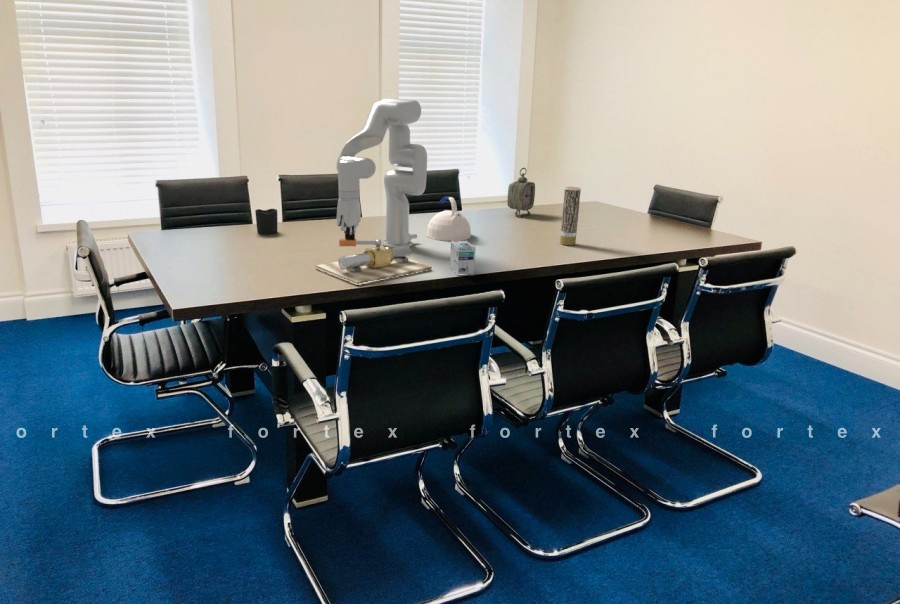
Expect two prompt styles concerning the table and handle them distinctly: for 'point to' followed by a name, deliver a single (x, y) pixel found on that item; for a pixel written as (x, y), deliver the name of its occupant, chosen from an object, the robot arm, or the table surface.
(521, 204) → the tabletop clock
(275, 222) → the pen holder
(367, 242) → the valve handle
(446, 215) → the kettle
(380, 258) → the pipe and valve
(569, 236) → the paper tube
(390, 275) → the valve board
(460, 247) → the light bulb box
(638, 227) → the table surface
